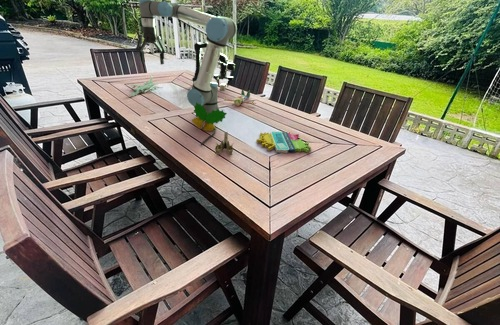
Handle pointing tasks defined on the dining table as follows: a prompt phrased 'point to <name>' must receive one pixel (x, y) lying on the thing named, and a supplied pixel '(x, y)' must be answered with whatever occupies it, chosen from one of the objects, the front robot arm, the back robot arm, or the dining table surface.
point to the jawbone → (224, 145)
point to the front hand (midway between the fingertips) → (152, 63)
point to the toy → (241, 99)
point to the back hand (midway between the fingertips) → (223, 86)
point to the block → (222, 86)
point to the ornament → (207, 117)
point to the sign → (283, 142)
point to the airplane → (143, 87)
